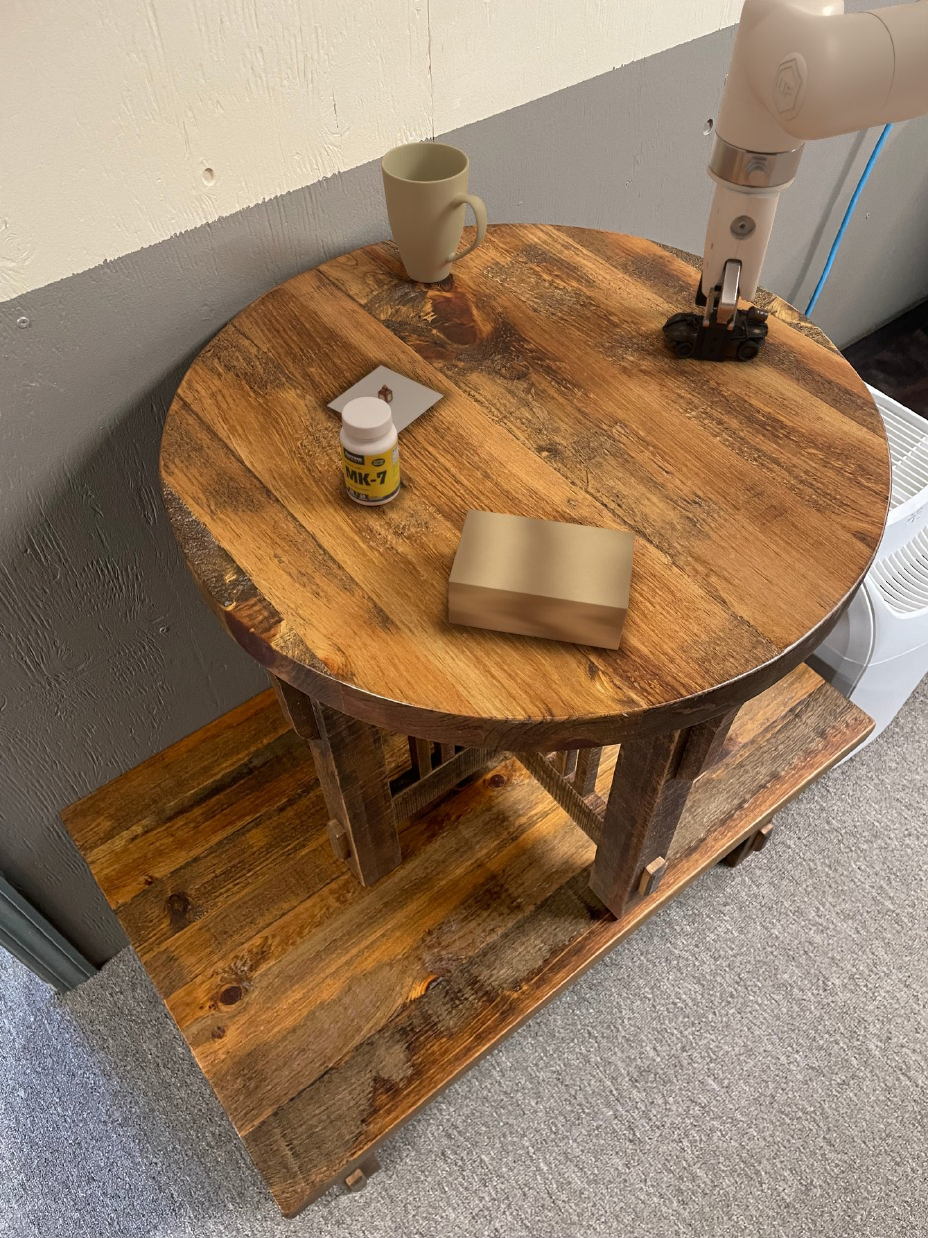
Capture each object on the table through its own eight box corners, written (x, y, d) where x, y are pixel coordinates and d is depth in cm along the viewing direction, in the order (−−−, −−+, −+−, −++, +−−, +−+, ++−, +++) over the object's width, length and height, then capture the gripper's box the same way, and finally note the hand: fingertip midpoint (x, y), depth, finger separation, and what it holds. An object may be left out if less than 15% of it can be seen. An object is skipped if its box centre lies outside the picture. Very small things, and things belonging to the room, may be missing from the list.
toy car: (770, 361, 87) (783, 323, 84) (652, 363, 87) (660, 324, 84) (756, 326, 91) (767, 287, 88) (642, 327, 91) (650, 289, 87)
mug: (384, 297, 94) (375, 185, 85) (392, 249, 100) (385, 140, 91) (484, 299, 94) (487, 188, 84) (486, 251, 100) (489, 142, 90)
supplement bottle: (341, 504, 74) (329, 427, 68) (352, 467, 77) (342, 390, 71) (395, 510, 74) (389, 433, 67) (405, 472, 77) (400, 395, 70)
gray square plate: (326, 405, 83) (324, 389, 81) (381, 365, 87) (379, 349, 85) (391, 439, 80) (389, 422, 78) (444, 395, 84) (443, 379, 82)
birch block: (625, 575, 70) (635, 532, 66) (617, 650, 65) (627, 609, 61) (467, 551, 71) (468, 508, 67) (448, 623, 66) (448, 581, 63)
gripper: (803, 209, 69) (746, 388, 82) (795, 117, 79) (746, 289, 93) (707, 200, 69) (666, 378, 83) (712, 109, 80) (675, 281, 93)
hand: (708, 331), depth 88 cm, fingers open, 9 cm apart
